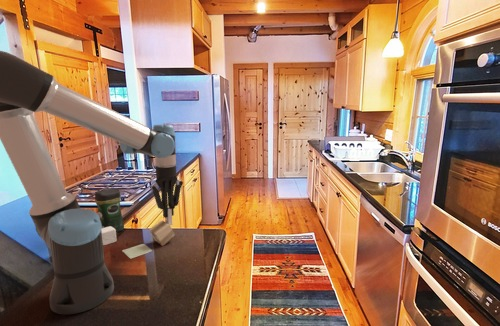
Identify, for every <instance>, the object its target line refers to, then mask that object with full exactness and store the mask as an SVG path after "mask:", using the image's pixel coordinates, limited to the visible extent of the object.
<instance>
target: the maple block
mask: <svg viewBox="0 0 500 326" xmlns="http://www.w3.org/2000/svg"><path fill="white" fill-rule="evenodd" d="M171 226H172V225H169V224H168V223H166V221H164V220H163V219H162V220H160V221H159V222H158V223H156V224H155V225H154V226H152V227H151V228H149V232H150V234H151V235H152V238H153V239H154V241H155V242H156V243H157V244H159V245H160V246H162V247H164V246H165V245H167V244H168V243H169V242H171V240H173V239H174V238H175V237H176V234H175V232H174V231H173V228H172V227H171Z"/></svg>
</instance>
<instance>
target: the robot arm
mask: <svg viewBox="0 0 500 326" xmlns="http://www.w3.org/2000/svg"><path fill="white" fill-rule="evenodd" d="M38 112H45V113H46V114H49V115H52V116H55V117H57V118H59V119H60V120H61V119H62V120H63V121H67V122H68V123H69V122H70V123H71V124H74V125H77V126H79V127H82V128H83V129H86V130H89V131H90V132H91V131H92V132H94V133H96V134H99V135H100V136H104V137H106V138H108V139H111V140H113V141H116V142H118V144H119V148H120V150H121V152H122V153H123V154H126V155H130V154H131V155H133V154H141V155H146V156H152V157H155V159H154V160H155V177H156V179H155V182H154V184H153V185H152V184H151V185H149V188H150V190H151V191H152V194H153V196H154V200H155V203H156V206H157V208H158V209H159V210H162V214H163V218H164V219H165V221H164V222H166V223H168V224H169V225H170V226H172V225H173V216H174V215H175V212H174V209H175V208H176V207H177V206H179V201H180V194H181V189H182V186H183V184H184V182H183V180H179V179H178V176H177V175H178V173H177V165H176V164H177V155H176V134H175V133H176V132H175V127H174V126H173V124H154V125H153V127H152V128H151V127H148V126H147V125H144V124H142V123H140V122H138V121H136V120H134V119H132V118H130V117H128V116H126V115H124V114H122V113H119V112H118V111H115V110H114V109H112V108H109V107H108V106H105V105H103V104H102V103H99V102H97V101H95V100H93V99H91V98H89V97H88V96H85V95H83V94H81V93H79V92H77V91H74V90H73V89H71V88H69V87H67V86H64V85H62V84H61V83H59V82H58V81H57V79H56V77H55V76H54V75H52V74H50V73H48V72H47V71H44V70H42V69H41V68H38V67H36V66H35V65H33V64H31V63H29V62H27V61H25V60H23V59H22V58H20V57H18V56H16V55H14V54H12V53H10V52H7V51H3V50H0V142H1V144H2V146H3V148H4V150H5V152H6V154H7V156H8V158H9V160H10V161H11V164H12V166H13V167H14V169H15V172H16V174H17V176H18V178H19V181H20V182H21V183H22V184H21V185H22V186H23V188H24V190H25V192H26V194H27V197H28V198H29V200H30V202H31V205H32V206H31V207H30V209H29V211H28V214H29V216H30V217H31V219H32V222H33V223H34V227H35V231H36V234H37V235H38V237H40V238H41V240H42V241H43V242H44V243H45V245H46V246H47V247H48V249H49V250H50V253H51V260H52V267H53V273H54V277H53V281H52V284H51V285H52V286H51V289H50V294H49V298H48V301H49V307H50V310H51V311H52V312H53V313H55V314H59V315H75V314H79V313H83V312H87V311H89V310H91V309H94V308H96V307H98V306H100V305H101V304H103V303H104V302H106V301H107V300H108V298H110V297H111V296H112V295H113V293H114V290H115V285H114V284H115V283H114V279H113V276H112V275H111V273H110V271H109V269H108V267H107V265H106V263H105V254H104V245H103V242H102V231H101V229H102V224H101V221H100V217H99V215H98V212H96V211H95V210H93V209H89V208H82V207H81V206H80V204H79V202H78V199H77V197H76V195H75V194H72V193H69V192H67V189H66V188H65V187H66V186H65V185H64V183H63V180H62V178H61V176H60V173H59V171H58V169H57V166H56V164H55V162H54V159H53V158H52V155H51V152H50V150H49V148H48V145H47V144H46V142H45V138H44V137H43V134H42V132H41V130H40V128H39V125H38V123H37V121H36V118H35V116H34V113H38ZM159 189H160V191H159ZM160 193H161V195H160Z"/></svg>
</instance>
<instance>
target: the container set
mask: <svg viewBox="0 0 500 326" xmlns="http://www.w3.org/2000/svg"><path fill="white" fill-rule="evenodd" d="M101 231H102V242H103V246H107V245H109V244H112V243H116V242H117V232H116V230H115V229H114V228H113V227H111V226H109V227H105V228H102V229H101Z"/></svg>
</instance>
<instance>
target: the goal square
mask: <svg viewBox="0 0 500 326" xmlns="http://www.w3.org/2000/svg"><path fill="white" fill-rule="evenodd" d="M121 251H122V253H124V254H125V255H126V256H127V257H128V258H129V259H130V260H131V259H132V260H133V259H134V258H136V257H139V256H140V257H141V256H144V255H145V254H149V253H151V252H153V250H152V248H150V247H148V246H147V245H146V244H145V243H142V244H141V243H140V244H138V245H135V246H132V247H129V248H126V249H123V250H121Z"/></svg>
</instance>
